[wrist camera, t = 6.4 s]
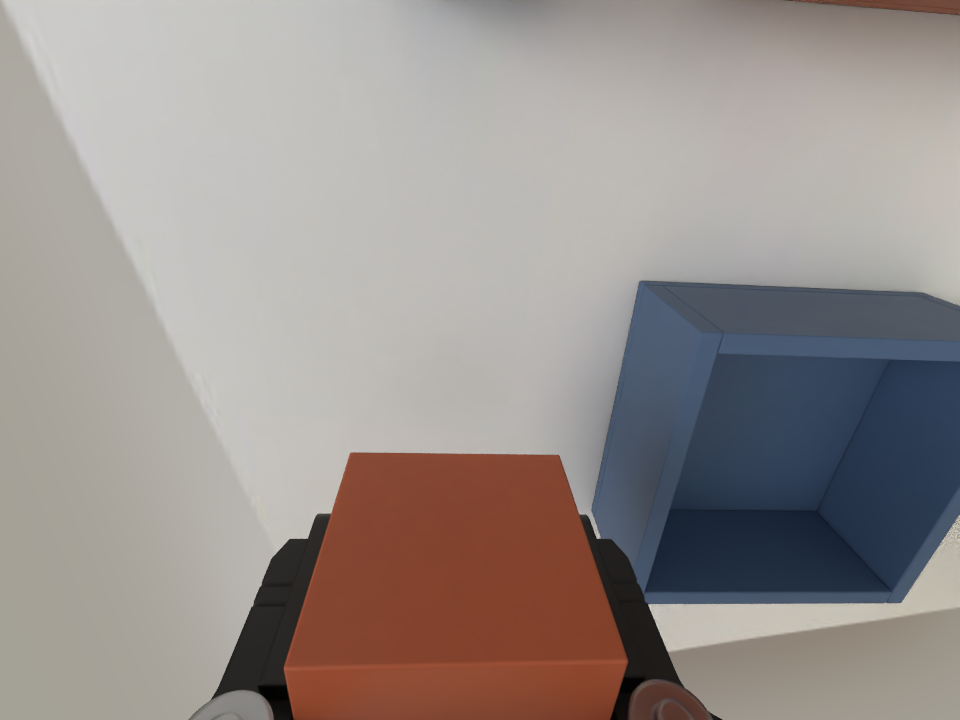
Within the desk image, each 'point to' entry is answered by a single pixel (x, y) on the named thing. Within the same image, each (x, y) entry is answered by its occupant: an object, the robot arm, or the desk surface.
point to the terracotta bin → (901, 4)
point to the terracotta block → (455, 597)
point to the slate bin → (782, 443)
